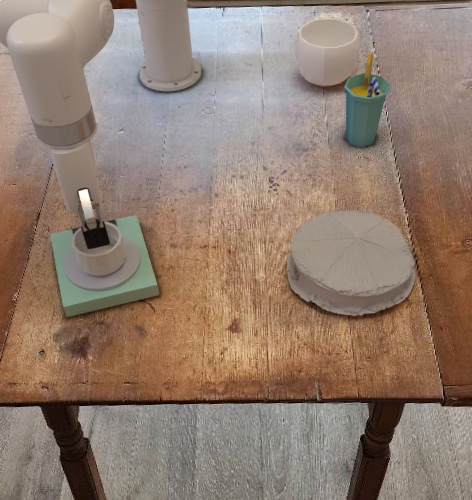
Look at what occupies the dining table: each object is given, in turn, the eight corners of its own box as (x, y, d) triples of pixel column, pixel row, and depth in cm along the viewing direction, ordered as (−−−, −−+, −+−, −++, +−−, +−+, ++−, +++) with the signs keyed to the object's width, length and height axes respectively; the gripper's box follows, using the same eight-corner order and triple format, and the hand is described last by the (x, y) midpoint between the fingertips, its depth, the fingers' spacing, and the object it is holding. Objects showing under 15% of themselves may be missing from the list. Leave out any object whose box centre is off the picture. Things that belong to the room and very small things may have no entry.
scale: (53, 244, 109) (49, 231, 107) (138, 225, 111) (136, 211, 109) (66, 317, 100) (61, 304, 98) (159, 295, 102) (156, 281, 100)
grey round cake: (264, 245, 108) (263, 213, 102) (375, 210, 112) (380, 177, 106) (320, 337, 96) (323, 306, 91) (441, 294, 100) (451, 262, 95)
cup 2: (389, 164, 119) (402, 87, 107) (344, 166, 119) (353, 89, 107) (376, 117, 127) (387, 40, 115) (335, 119, 127) (342, 43, 115)
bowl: (75, 249, 104) (68, 227, 101) (121, 238, 105) (116, 216, 102) (82, 282, 100) (75, 261, 96) (130, 271, 101) (125, 249, 98)
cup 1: (358, 64, 139) (363, 17, 131) (353, 98, 131) (359, 51, 124) (298, 60, 140) (299, 14, 133) (290, 94, 133) (291, 47, 125)
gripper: (26, 88, 88) (59, 189, 102) (41, 171, 78) (76, 271, 92) (83, 77, 89) (108, 179, 103) (106, 157, 79) (130, 258, 93)
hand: (93, 222), depth 97 cm, fingers open, 9 cm apart
